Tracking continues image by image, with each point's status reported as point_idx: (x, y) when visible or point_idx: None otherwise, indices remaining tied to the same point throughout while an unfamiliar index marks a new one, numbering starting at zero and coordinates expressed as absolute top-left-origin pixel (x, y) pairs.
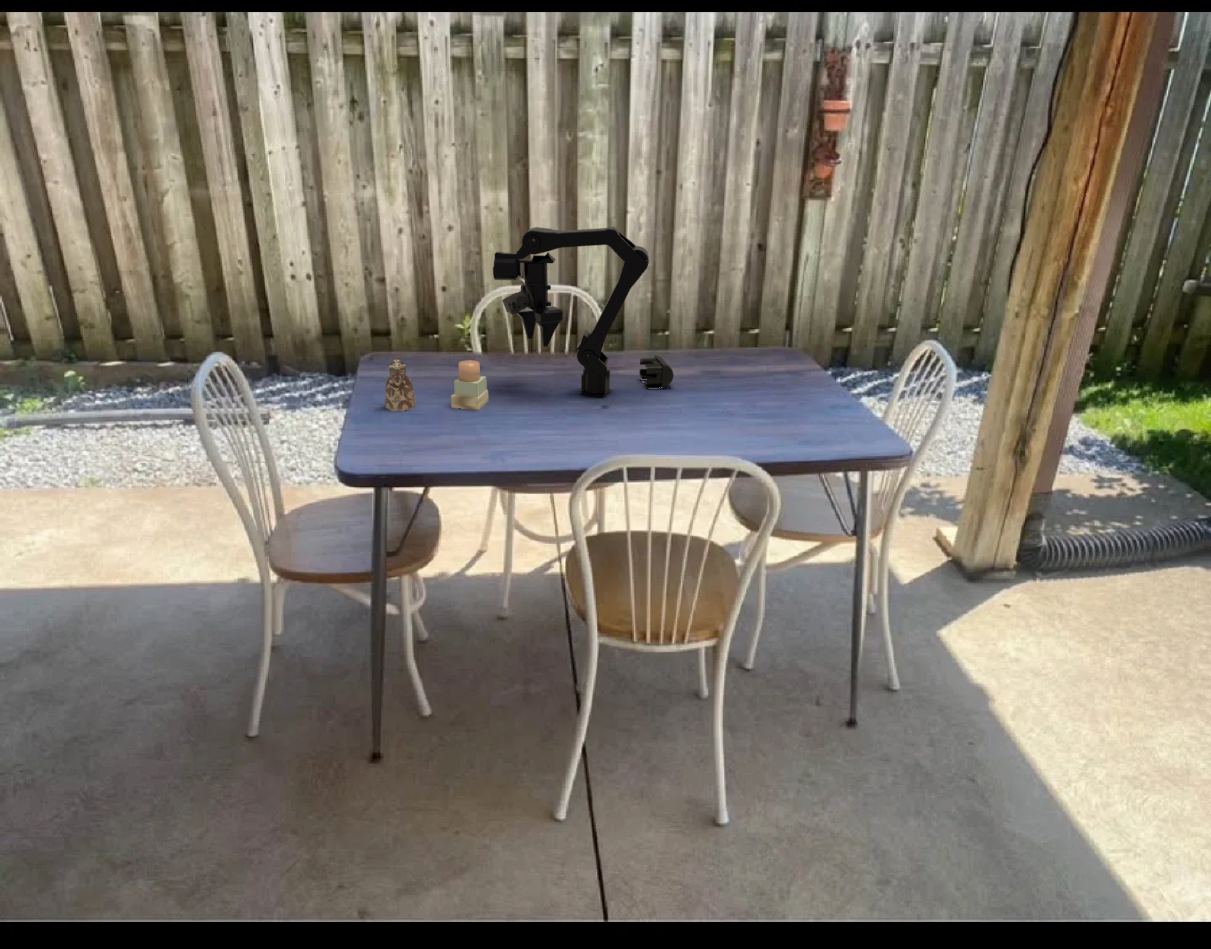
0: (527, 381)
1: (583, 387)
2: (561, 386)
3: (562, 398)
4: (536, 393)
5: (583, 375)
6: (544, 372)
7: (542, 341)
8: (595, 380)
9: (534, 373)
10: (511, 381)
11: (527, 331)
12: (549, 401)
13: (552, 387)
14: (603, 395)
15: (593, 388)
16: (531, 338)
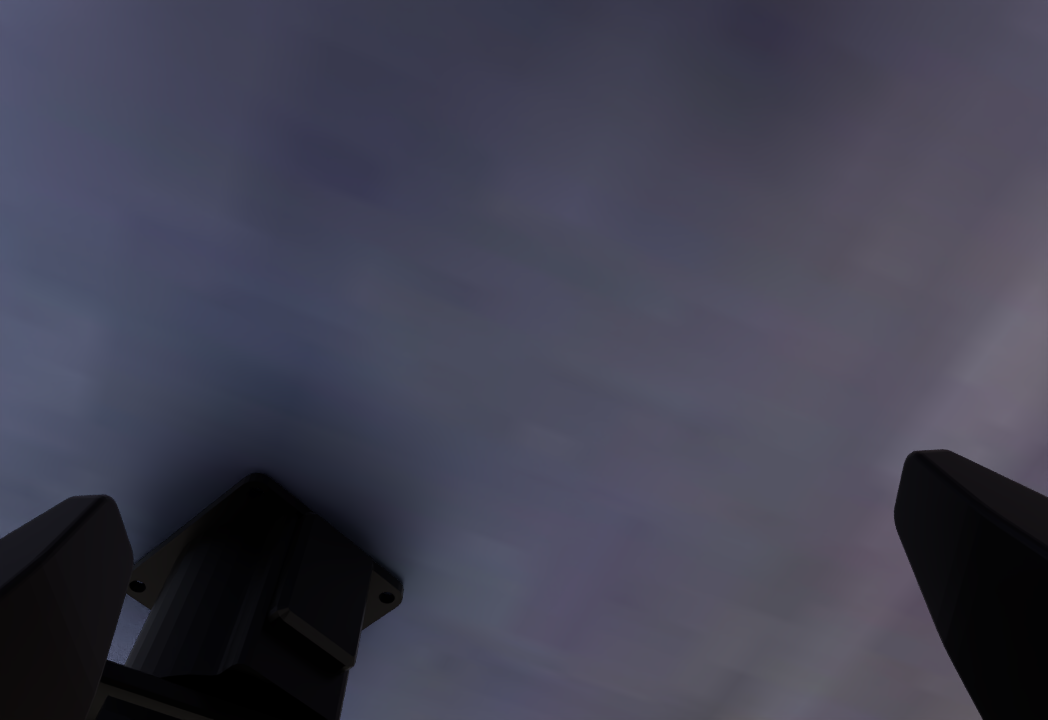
0: (838, 204)
1: (277, 536)
2: (541, 422)
3: (194, 302)
4: (422, 132)
5: (251, 619)
6: (988, 444)
7: (15, 558)
8: (131, 652)
9: (1021, 359)
10: (937, 41)
11: (1016, 553)
12: (124, 152)
13: (546, 345)
14: (132, 595)
15: (166, 584)
16: (895, 511)
